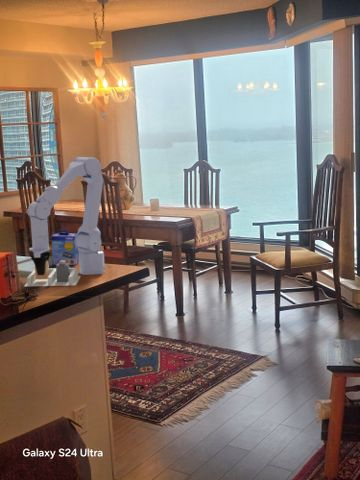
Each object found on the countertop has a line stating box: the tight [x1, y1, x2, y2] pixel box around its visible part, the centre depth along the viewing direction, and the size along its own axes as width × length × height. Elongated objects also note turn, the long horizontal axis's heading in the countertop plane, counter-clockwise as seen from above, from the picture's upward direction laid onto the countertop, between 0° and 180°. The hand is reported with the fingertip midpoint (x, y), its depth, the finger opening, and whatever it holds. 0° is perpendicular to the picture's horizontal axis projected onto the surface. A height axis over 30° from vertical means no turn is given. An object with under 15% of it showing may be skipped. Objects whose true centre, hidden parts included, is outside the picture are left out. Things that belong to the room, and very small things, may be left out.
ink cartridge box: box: [50, 229, 79, 266], centre depth 259 cm, size 10×6×14 cm, turn 87°
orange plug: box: [34, 260, 50, 279], centre depth 226 cm, size 4×4×7 cm
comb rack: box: [23, 267, 82, 287], centre depth 228 cm, size 18×14×4 cm
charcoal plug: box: [55, 260, 70, 282], centre depth 228 cm, size 4×4×7 cm
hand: (42, 273), depth 227 cm, fingers closed on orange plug, 4 cm apart
